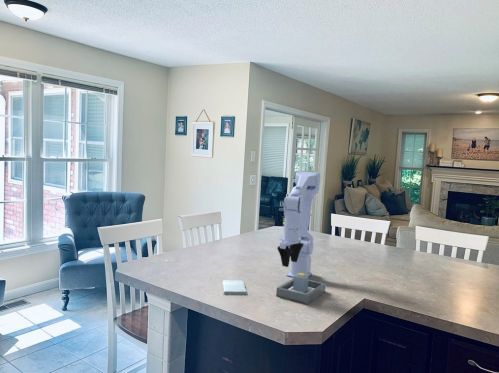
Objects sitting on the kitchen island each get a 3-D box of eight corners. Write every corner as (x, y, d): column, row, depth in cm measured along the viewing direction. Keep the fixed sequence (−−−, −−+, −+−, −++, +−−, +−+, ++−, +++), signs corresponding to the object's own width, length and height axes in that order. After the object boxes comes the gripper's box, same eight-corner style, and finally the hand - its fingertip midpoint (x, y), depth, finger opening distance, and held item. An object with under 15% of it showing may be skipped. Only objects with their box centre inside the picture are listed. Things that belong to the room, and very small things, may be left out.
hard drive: (246, 291, 137) (243, 280, 149) (223, 291, 136) (222, 279, 148) (246, 296, 137) (243, 284, 149) (223, 296, 136) (222, 283, 148)
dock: (295, 284, 150) (296, 276, 150) (325, 291, 144) (325, 283, 143) (276, 296, 137) (276, 287, 136) (307, 304, 130) (308, 295, 130)
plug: (297, 289, 143) (298, 271, 143) (307, 291, 141) (308, 273, 140) (292, 292, 140) (294, 274, 139) (303, 294, 138) (304, 276, 137)
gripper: (290, 224, 152) (288, 257, 153) (273, 229, 139) (271, 266, 141) (307, 226, 148) (304, 261, 149) (291, 232, 136) (288, 270, 137)
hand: (289, 263), depth 145 cm, fingers open, 7 cm apart
